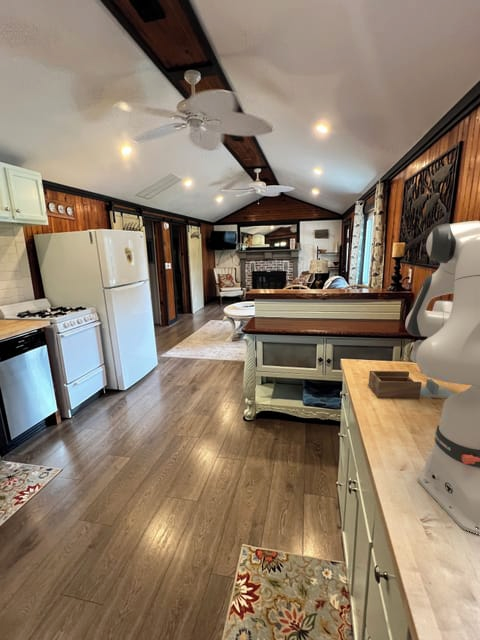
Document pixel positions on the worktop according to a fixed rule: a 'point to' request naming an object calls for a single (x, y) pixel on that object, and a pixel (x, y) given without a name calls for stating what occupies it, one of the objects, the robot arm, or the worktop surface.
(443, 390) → the lid
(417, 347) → the robot arm
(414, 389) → the lid box
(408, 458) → the worktop surface
